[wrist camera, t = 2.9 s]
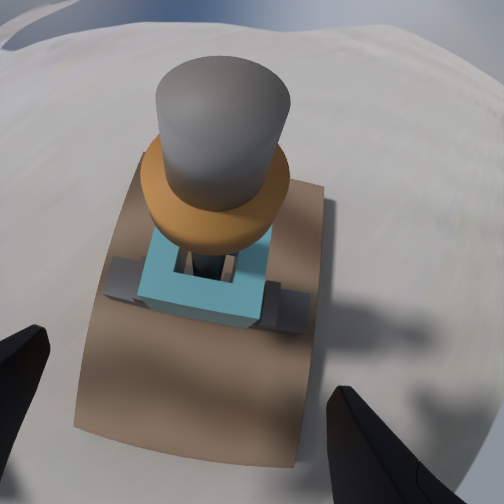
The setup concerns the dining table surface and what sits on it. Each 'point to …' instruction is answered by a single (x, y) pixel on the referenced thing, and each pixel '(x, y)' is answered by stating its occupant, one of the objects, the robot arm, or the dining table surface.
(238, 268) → the sleeve
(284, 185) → the wooden base post stand
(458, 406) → the dining table surface
